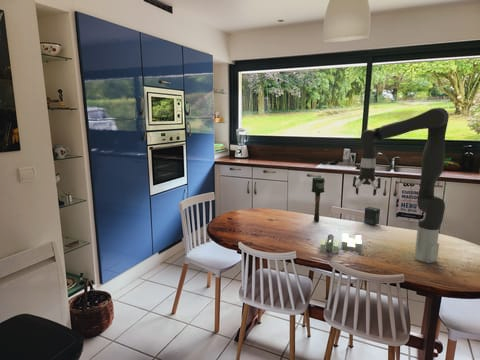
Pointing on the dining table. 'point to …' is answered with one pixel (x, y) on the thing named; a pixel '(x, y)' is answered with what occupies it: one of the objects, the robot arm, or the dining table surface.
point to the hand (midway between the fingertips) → (365, 194)
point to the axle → (329, 243)
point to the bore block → (351, 242)
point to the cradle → (334, 247)
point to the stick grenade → (317, 194)
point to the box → (371, 215)
